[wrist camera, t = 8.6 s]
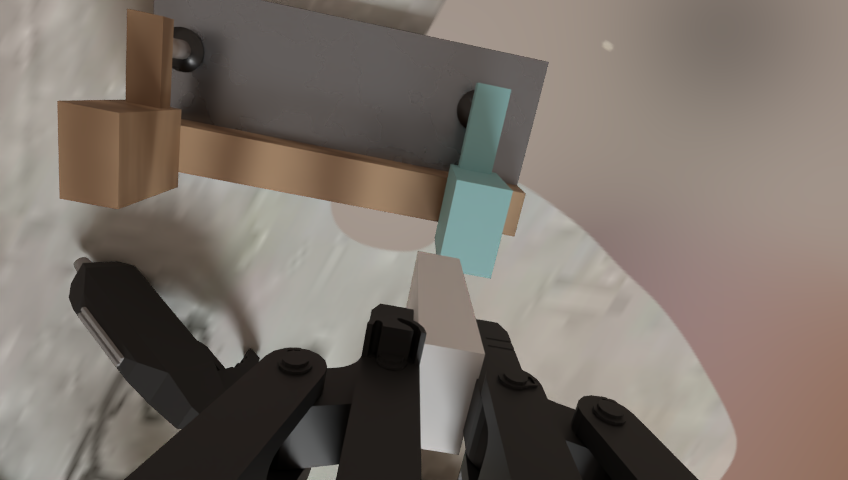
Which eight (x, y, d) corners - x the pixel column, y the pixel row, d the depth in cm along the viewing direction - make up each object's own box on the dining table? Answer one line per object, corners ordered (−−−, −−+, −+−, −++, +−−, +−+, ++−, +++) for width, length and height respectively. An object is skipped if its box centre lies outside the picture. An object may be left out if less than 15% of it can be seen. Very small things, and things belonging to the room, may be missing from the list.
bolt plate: (157, 160, 35) (147, 163, 34) (164, -19, 32) (153, -24, 30) (502, 227, 36) (505, 231, 35) (544, 63, 33) (549, 61, 32)
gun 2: (173, 247, 43) (52, 248, 34) (288, 376, 38) (184, 419, 29) (159, 271, 44) (35, 278, 34) (270, 400, 39) (162, 450, 30)
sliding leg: (433, 224, 35) (437, 268, 26) (463, 82, 32) (479, 78, 23) (473, 232, 35) (490, 278, 26) (507, 91, 32) (538, 90, 24)
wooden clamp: (148, 169, 34) (49, 196, 25) (153, 17, 31) (43, -14, 22) (503, 237, 36) (531, 285, 26) (539, 98, 33) (583, 100, 24)
